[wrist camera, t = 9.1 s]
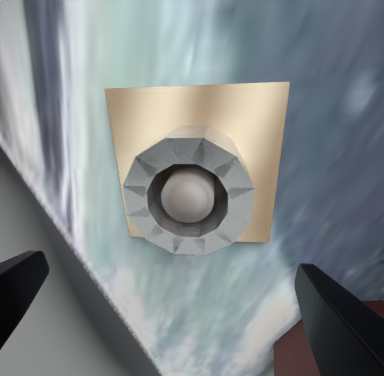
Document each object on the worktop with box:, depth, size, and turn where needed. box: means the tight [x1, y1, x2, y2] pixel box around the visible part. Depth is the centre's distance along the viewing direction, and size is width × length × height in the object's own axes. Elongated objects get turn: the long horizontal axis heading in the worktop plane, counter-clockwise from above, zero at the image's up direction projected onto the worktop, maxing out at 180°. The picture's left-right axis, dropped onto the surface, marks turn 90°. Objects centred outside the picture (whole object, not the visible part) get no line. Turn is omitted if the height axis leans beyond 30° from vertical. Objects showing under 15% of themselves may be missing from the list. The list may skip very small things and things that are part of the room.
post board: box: [105, 82, 290, 243], centre depth 15 cm, size 12×12×6 cm
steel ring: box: [123, 124, 254, 256], centre depth 14 cm, size 7×7×5 cm
